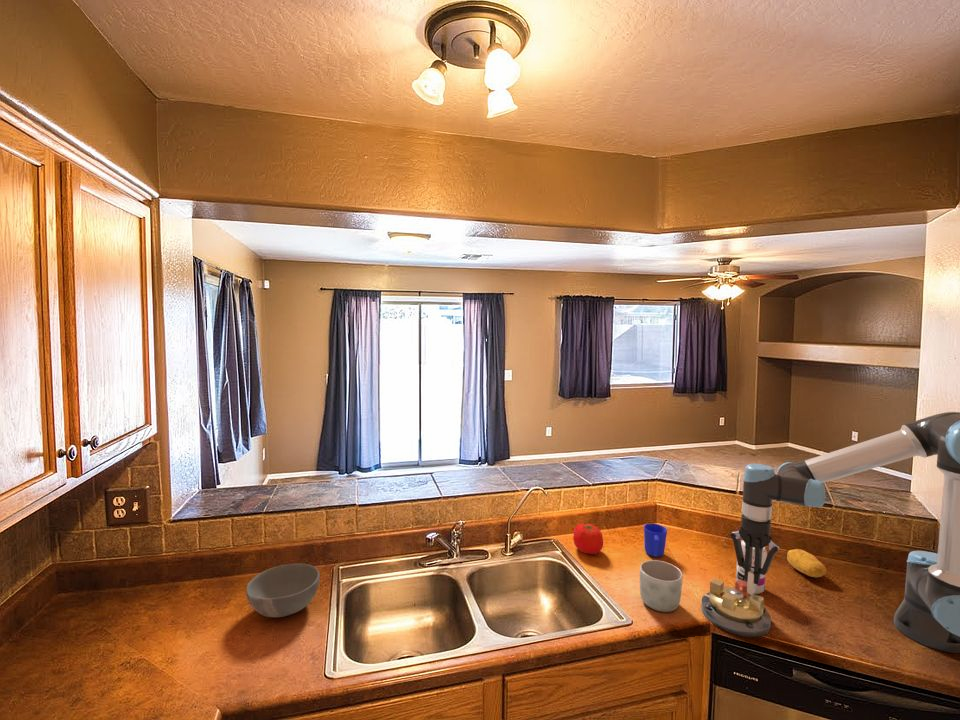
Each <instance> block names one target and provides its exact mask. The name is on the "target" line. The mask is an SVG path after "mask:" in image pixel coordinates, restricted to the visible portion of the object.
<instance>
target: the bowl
mask: <svg viewBox="0 0 960 720" xmlns="http://www.w3.org/2000/svg"><path fill="white" fill-rule="evenodd" d="M319 584H320V571H319V569H318V568H317V567H315V566H314V565H312V564H307V563H301V562H300V563H288V564H281V565H278V566H273V567H270V568H268V569H266V570H264V571H262V572H260V573H258V574H256V575H255V576H254V577H253V578H252V579H251V580H249V582H248V583H247V585H246V589H245V594H246V599H247V601H248V603H249V605H250V606H251V607H252V609H253V610H254V611H255V612H257V613H258V614H260V615H261V616H264V617H267V618H283V617H287V616H291V615H294V614H295V613H298V612H300V611H302V610H303V609H305V607H308V605H309V603H310V602H311V601H312V600H313V599H314V597H315V596H316V594H317V591H318V588H319Z"/></svg>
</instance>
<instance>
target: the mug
mask: <svg viewBox="0 0 960 720" xmlns="http://www.w3.org/2000/svg"><path fill="white" fill-rule="evenodd" d="M643 534H644V535H643V538H644V539H643V541H644V551H645V553H646V554H647V555H649V556H651V557H654V558H655V557H656V558H659V557H662V556H664V554H665V550H666V549H665V548H666V543H667V535H668V529H667V528H666V527H665V526H663V525H661V524H658V523H646V524H644V525H643Z"/></svg>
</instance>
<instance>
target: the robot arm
mask: <svg viewBox="0 0 960 720" xmlns="http://www.w3.org/2000/svg"><path fill="white" fill-rule="evenodd" d="M932 456H937V457H936V469H938V470H939V471H940V472H941V473H943V487H942V499H941V509H940V512H941V513H940V524H939V535H938V547H937V553H936V552H932V551H925V550H913V551H910V552H909V553H908V556H907V559H906V563H907V564H906V575H905V585H904V597H903V600H902V602H901V603H900V605H899V606H898V608H897V610H896V611H895V613H894V615H893V616H894V617H893V624H894V626H895V628H896V629H897V630H898V631H900V632H901V633H902V634H903V635H905V636H906V637H908V638H909V639H910V640H913V641H915V642H917V643H919V644H921V645H923V646H926V647H928V648H932V649H935V650H938V651H942V652H945V653H951V654H960V411H959V412H958V411H948V412H941V413H936V414H934V415H930V416H927V417H923V418H920V419H918V420H915V421H912V422H907V423H905V424H903V425H901V428H900V429H899V430H896V431H893V432H890V433H887V434H884V435H881V436H878V437H874V438H871V439H868V440H865V441H861V442H858V443H856V444H852V445H849V446H846V447H843V448H840V449H837V450H834V451H830V452H828V453H825V454H822V455H818V456H816V457H811V458H808V459H806V460H802V461H798V462H796V463H795V462H788V461H787V462H784V463H782V464H781V465H779V467H778V468H777V473H775V469H774V468H773V467H772V466H770V465H767V464H766V465H765V464H763V463H750V464H747V465H746V466H745V468H744V475H743V485H742V486H743V487H742V504H741V513H742V514H741V520H740V528H739V529H738V530H737V531H736V530H734V531H731V533H729V534H730V538H731V540H732V542H733V545H734V550H735V551H734V552H735V556H736V563H737V562H738V565H739V566H740V567H743V568H744V570H745V572H744V579H745V580H746V581H748V582H747V593H749V594H751V595H752V594H754V592H755V587H756V584H757V585H758V583H759V582H760V574H762V575H765V576H766V574H767V573H768V572H769V569H770V567H771V564H772V561H773V560H774V557H775V555H776V552H778V551H779V550H780V548H781V546H780V545H779V544H776V543H775V542H773V538H772V537H771V525H772V520H771V519H772V512H773V511H772V510H773V501H776V502H781V503H787V504H793V505H799V506H804V507H807V508H809V507H810V508H822V507H823V506H824V504H825V499H826V489H825V485H824V483H827V482H831V481H834V480H838V479H840V478H841V479H842V478H844V477H849V476H851V475H856V474H858V473H862V472H865V471H870V470H872V469H876V468H879V467H883V466H886V465H890V464H893V463H896V462H901V461H903V460H907V459H911V458H914V457H921V458H928V457H932ZM741 540H743V541H744V542H745V549H746V550H745V560H744V555H743V550H742V545H741ZM767 546H768V550H769V551H768V552H767V558H766V560H765V563H764V565H763V568H761V562H762V550H763V548H764V547H765V548H766V547H767ZM753 547H754V548H755V562H754V570H753V569H751V567H752V566H751V564H752V550H753Z"/></svg>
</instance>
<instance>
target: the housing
mask: <svg viewBox="0 0 960 720" xmlns="http://www.w3.org/2000/svg"><path fill="white" fill-rule="evenodd" d="M729 594H731V595H733V596H736V597H738V599H737V602H739V603H740V602H743V593H742V592H741V591H739V590H737V589H730V590H729ZM709 596H710V591H708V592H707V593H705V594H703V596H702V598H701V607H700V608H701V612H702V614H703V615H704V617H705V618H706V619H707V620H708V621H709V622H710V623H712V624H713V625H714V626H716V627H717V628H719V629H721V630H723V631H726V632H728V633H731V634H733V635H737V636H742V637H747V638H758V637H759V638H760V637H764V636H765V635H767V634H769V632H771V625H772V624H771V623H772V618H771V614H770V613H769V612H768V610H767V608H766V607H765V606H763V618H762V619H761V620H760V621H759V622H756V623H742V622H737V621H734V620H731V619H728V618H726V617H724V616H722V615H720V614H719V613H717V612H716V611H715V610H714V609H713V608H712V607H711V605H710V603H709Z"/></svg>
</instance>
